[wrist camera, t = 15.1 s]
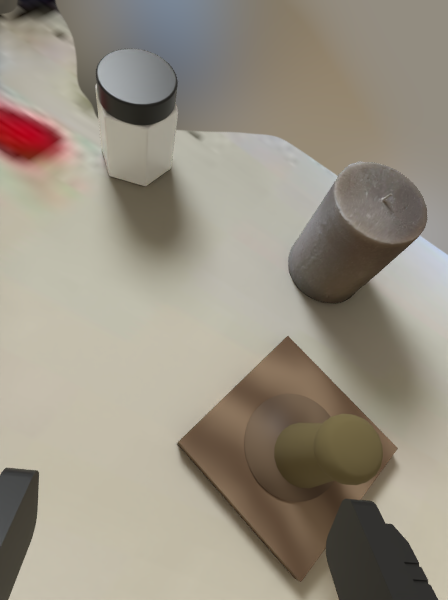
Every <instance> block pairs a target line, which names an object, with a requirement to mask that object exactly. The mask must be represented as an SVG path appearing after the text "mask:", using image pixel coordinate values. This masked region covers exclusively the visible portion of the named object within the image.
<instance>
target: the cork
mask: <svg viewBox="0 0 448 600" xmlns="http://www.w3.org/2000/svg"><path fill="white" fill-rule="evenodd" d="M274 458H275V462H276V465H277V468H278V470H279V472H280V473H281V475H282V477H283V478H285V479H286V480H287V481H288V482H289V483H290V484H292V485H294V486H296V487H299V488H308V489H309V488H313V487H316V486H319V485H322V484H325V483H328V482H331V481H336V482H339V483H341V484H345V485H359V484H363V483H366V482H368V481H369V480H370V479H372V478H373V477H374V476H375V475H376V474H377V472H378V471H379V469H380V467H381V464H382V459H383V448H382V443H381V440H380V437H379V435H378V434H377V432H376V431H375V429H374V428H373V426H372V425H371V424H369V423H368V422H367V421H366V420H365V419H363V418H361V417H358V416H356V415H352V414H339V415H335V416H332V417H330V418H329V419H327V420H326V421H324V422H323V423H295V424H292V425H289V426H288V427H287V428H285V429H284V430H283V431H282V432H281V433H280V435H279V436H278V438H277V441H276V444H275V449H274Z"/></svg>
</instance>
